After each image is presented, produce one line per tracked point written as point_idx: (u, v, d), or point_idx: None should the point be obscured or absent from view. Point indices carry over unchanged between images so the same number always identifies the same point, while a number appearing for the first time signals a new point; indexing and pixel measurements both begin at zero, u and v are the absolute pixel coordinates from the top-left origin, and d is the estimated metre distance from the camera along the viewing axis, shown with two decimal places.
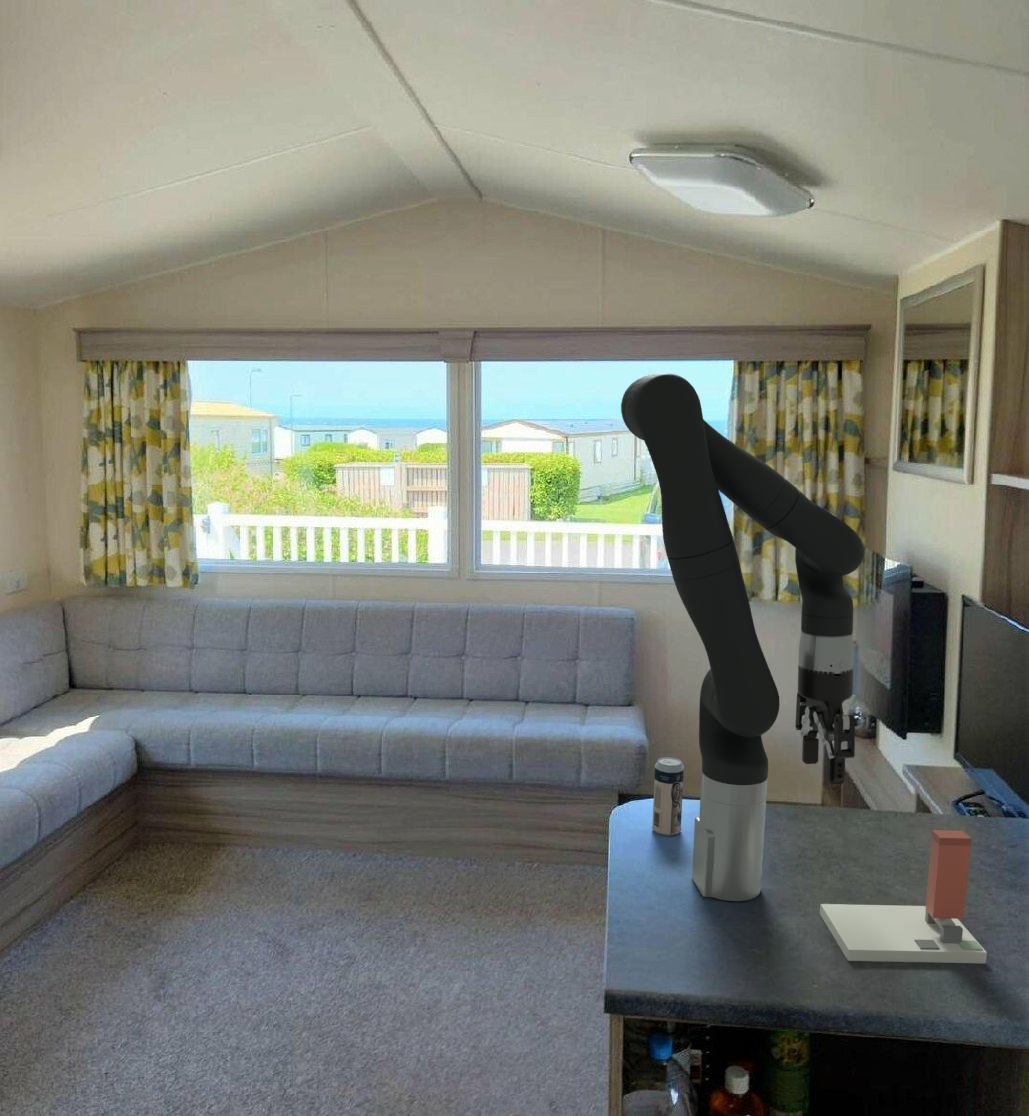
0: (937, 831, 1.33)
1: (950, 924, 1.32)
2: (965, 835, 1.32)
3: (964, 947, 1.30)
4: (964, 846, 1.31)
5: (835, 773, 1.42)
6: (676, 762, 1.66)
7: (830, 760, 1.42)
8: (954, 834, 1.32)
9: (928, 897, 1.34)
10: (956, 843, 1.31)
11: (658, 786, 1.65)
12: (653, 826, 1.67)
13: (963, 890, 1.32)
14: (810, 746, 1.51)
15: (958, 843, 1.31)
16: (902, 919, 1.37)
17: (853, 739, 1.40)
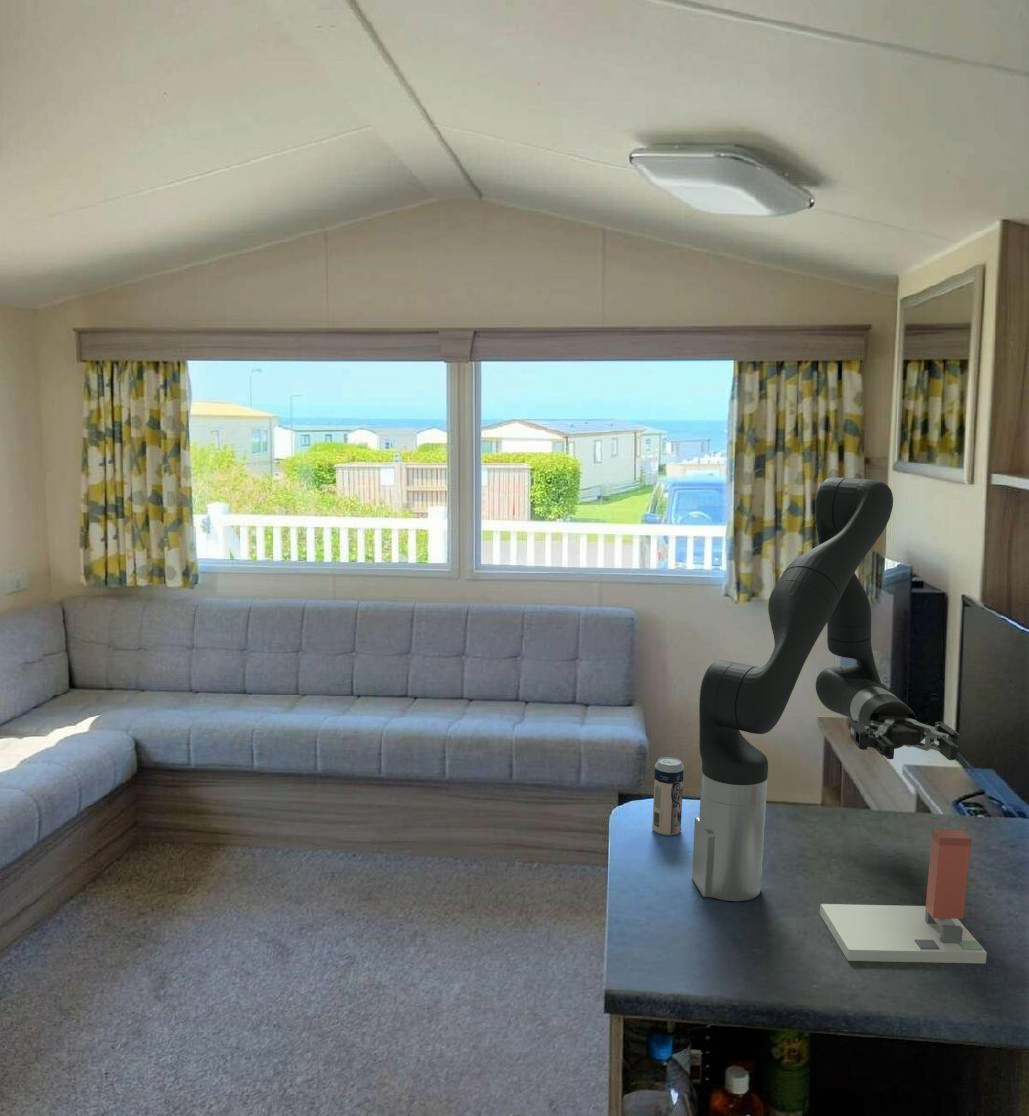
0: (937, 831, 1.33)
1: (950, 924, 1.32)
2: (965, 835, 1.32)
3: (964, 947, 1.30)
4: (964, 846, 1.31)
5: (955, 745, 1.44)
6: (676, 762, 1.66)
7: (945, 738, 1.45)
8: (954, 834, 1.32)
9: (928, 897, 1.34)
10: (956, 843, 1.31)
11: (658, 786, 1.65)
12: (653, 826, 1.67)
13: (963, 890, 1.32)
14: None
15: (958, 843, 1.31)
16: (902, 919, 1.37)
17: None
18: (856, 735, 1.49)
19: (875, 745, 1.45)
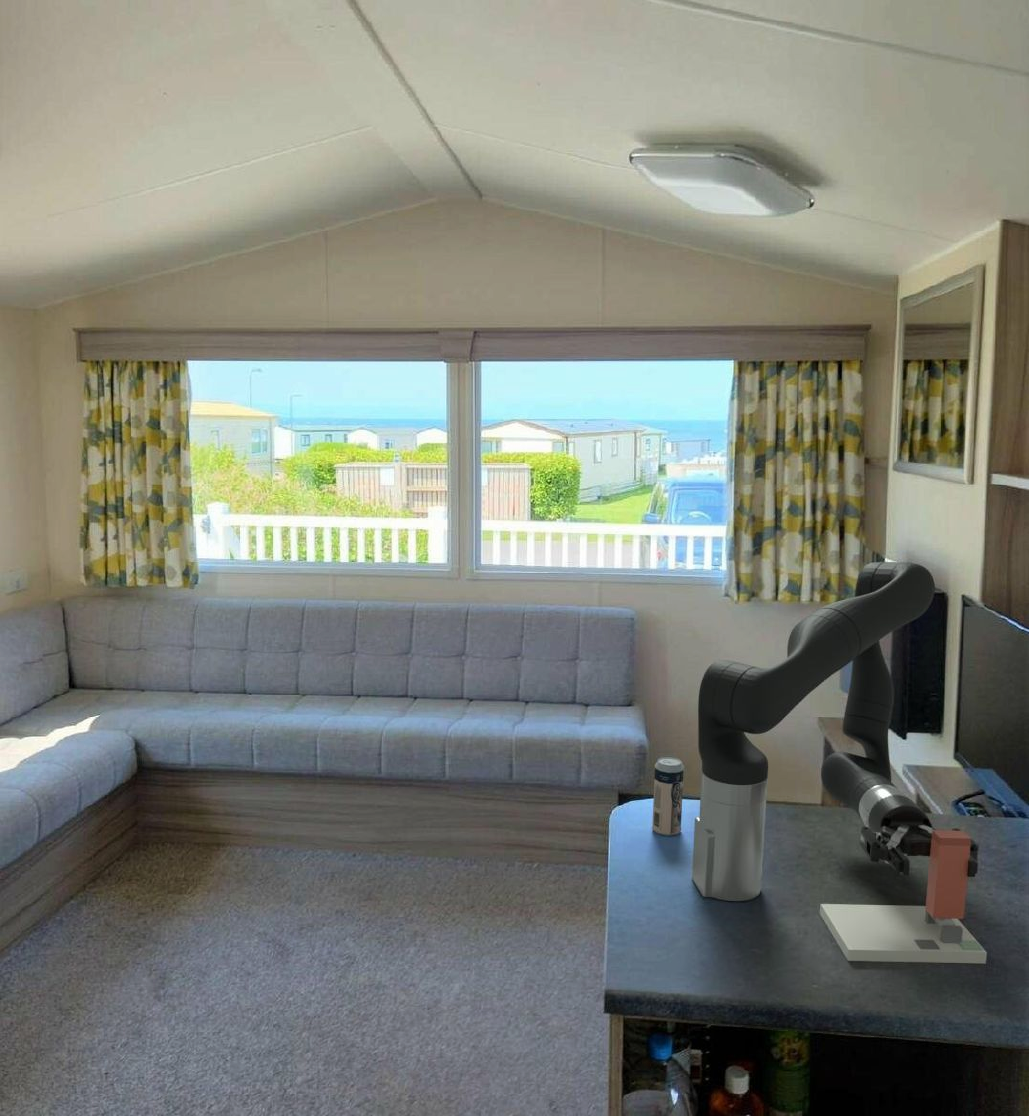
0: (937, 831, 1.33)
1: (950, 924, 1.32)
2: (965, 835, 1.32)
3: (964, 947, 1.30)
4: (964, 846, 1.31)
5: (974, 860, 1.33)
6: (676, 762, 1.66)
7: None
8: (954, 834, 1.32)
9: (928, 897, 1.34)
10: (956, 843, 1.31)
11: (658, 786, 1.65)
12: (653, 826, 1.67)
13: (963, 890, 1.32)
14: None
15: (958, 843, 1.31)
16: (902, 919, 1.37)
17: None
18: (867, 844, 1.38)
19: (888, 858, 1.34)
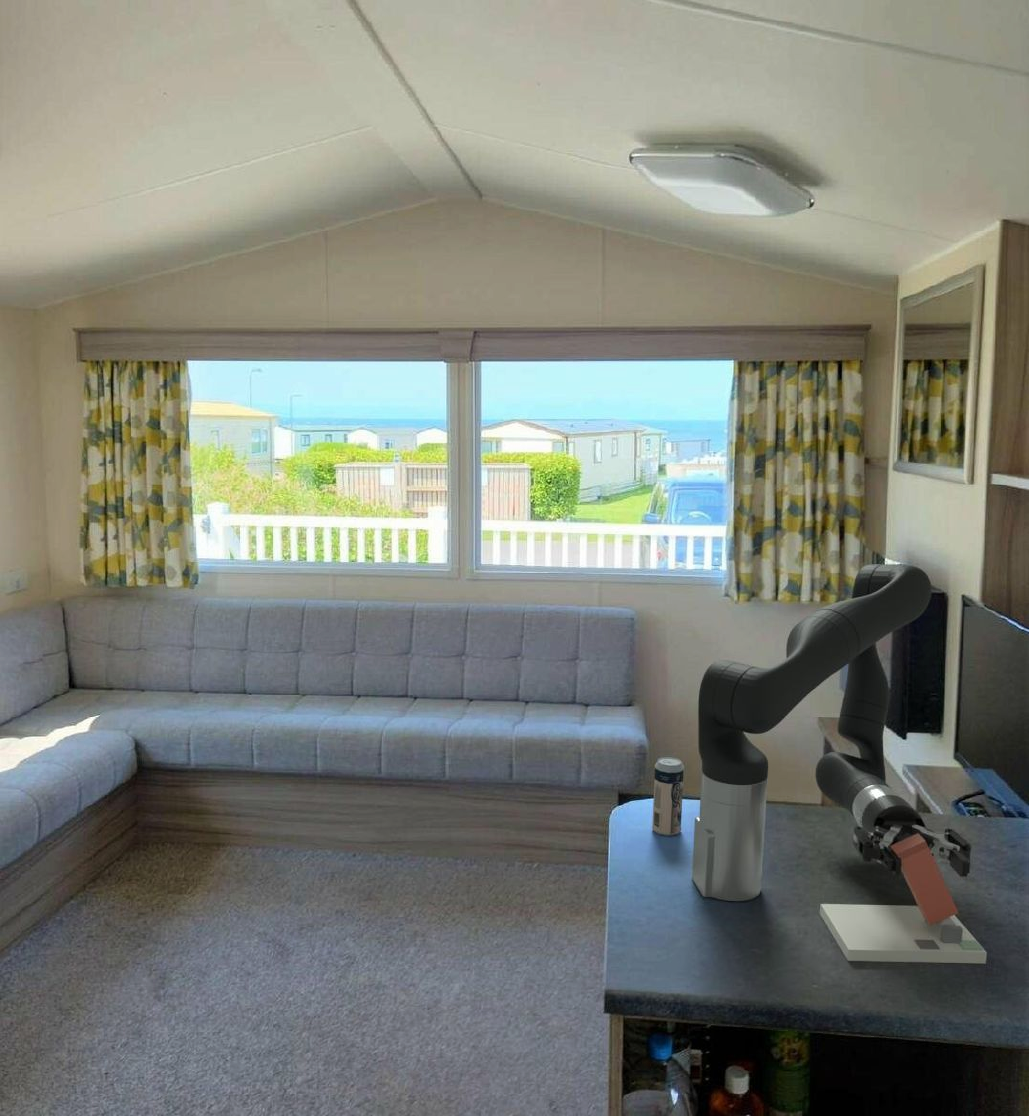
0: (895, 845, 1.33)
1: (948, 924, 1.32)
2: (920, 838, 1.32)
3: (964, 947, 1.30)
4: (923, 850, 1.31)
5: (967, 859, 1.33)
6: (676, 762, 1.66)
7: (956, 850, 1.34)
8: (910, 841, 1.32)
9: (919, 906, 1.34)
10: (914, 851, 1.31)
11: (658, 786, 1.65)
12: (653, 826, 1.67)
13: (944, 888, 1.32)
14: None
15: (916, 850, 1.31)
16: (902, 919, 1.37)
17: None
18: (860, 844, 1.38)
19: (880, 857, 1.34)
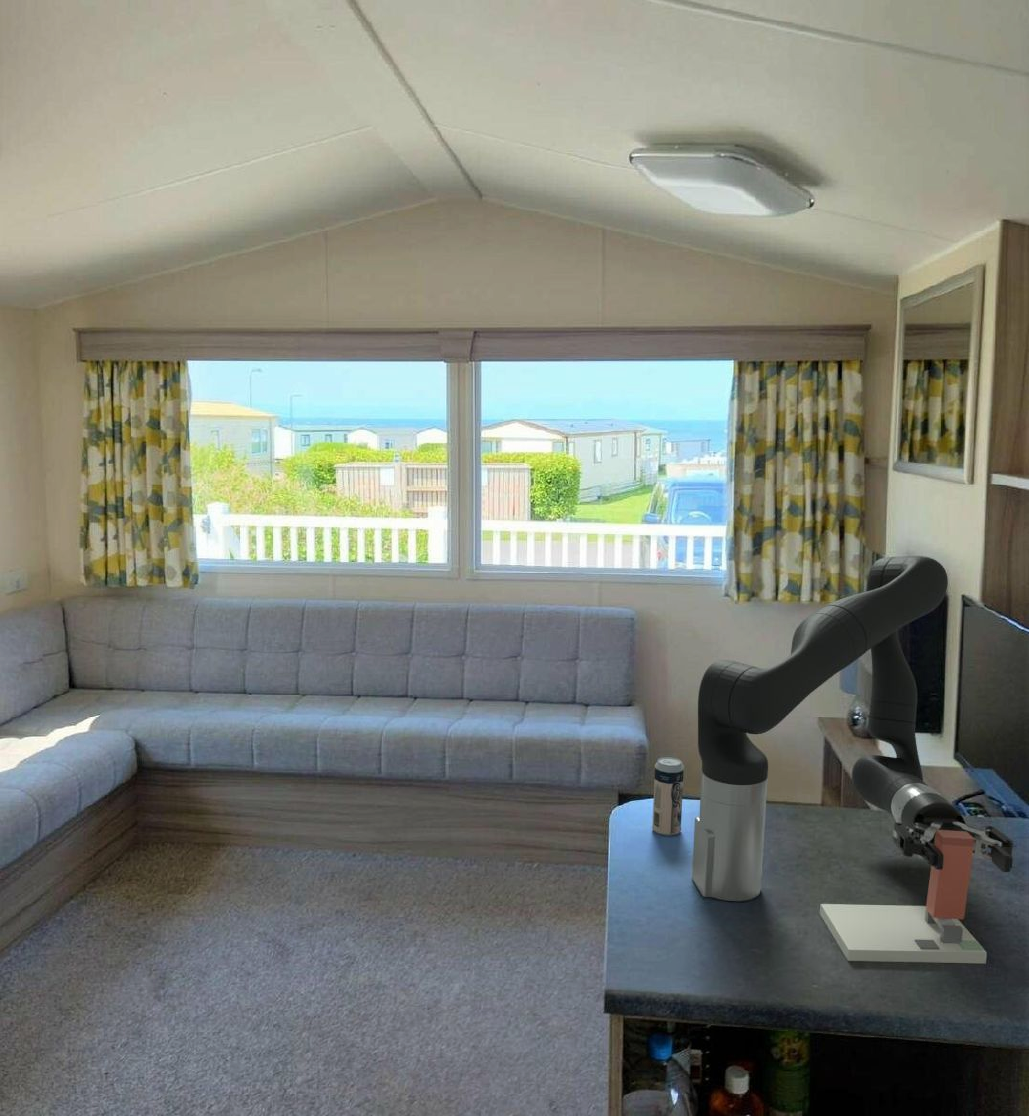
0: (941, 831, 1.33)
1: (950, 924, 1.32)
2: (968, 836, 1.32)
3: (964, 947, 1.30)
4: (967, 847, 1.31)
5: (1009, 855, 1.32)
6: (676, 762, 1.66)
7: (998, 846, 1.34)
8: (958, 834, 1.32)
9: (929, 896, 1.34)
10: (959, 843, 1.31)
11: (658, 786, 1.65)
12: (653, 826, 1.67)
13: (964, 891, 1.32)
14: None
15: (961, 843, 1.31)
16: (902, 919, 1.37)
17: None
18: (900, 840, 1.38)
19: (922, 852, 1.34)
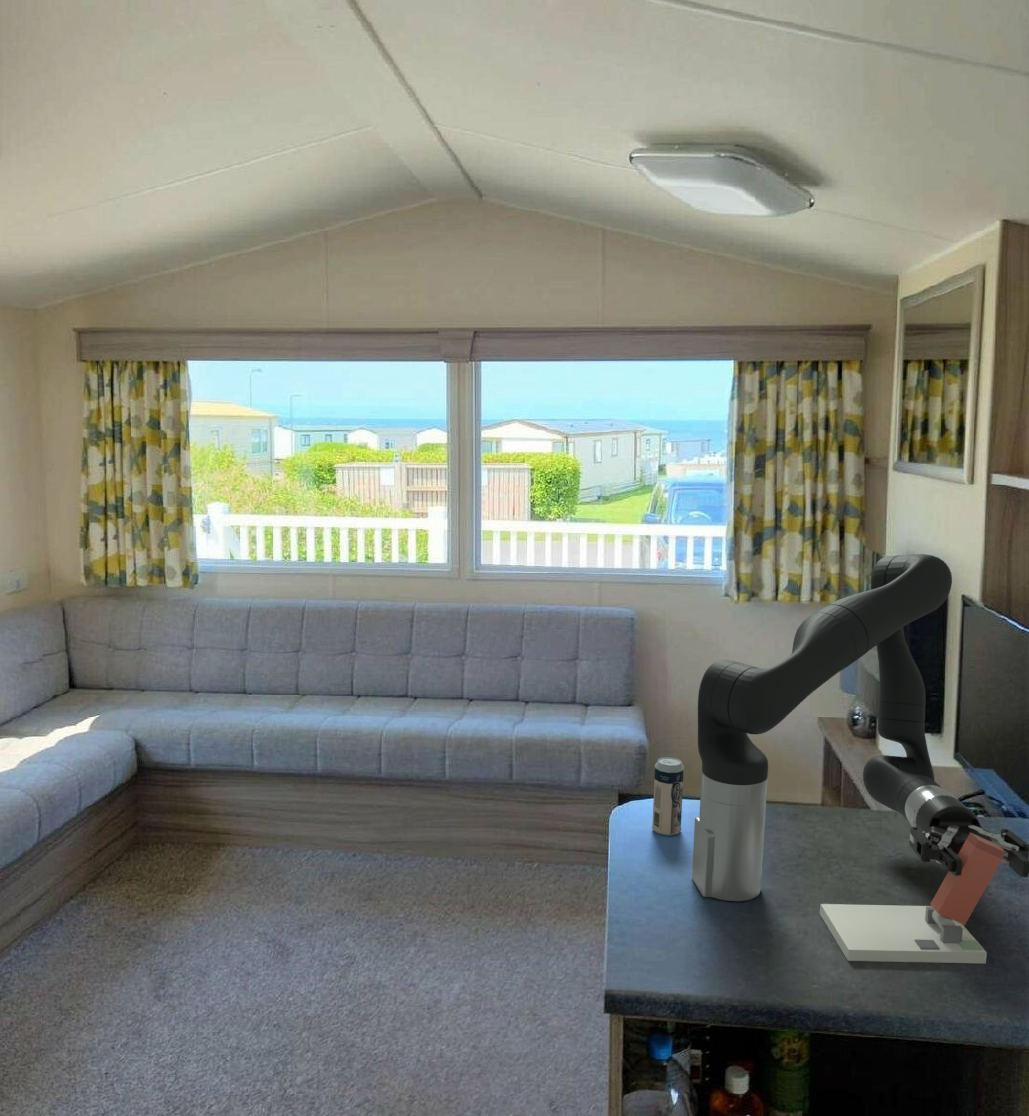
0: (975, 835, 1.33)
1: (951, 925, 1.32)
2: (1000, 848, 1.32)
3: (964, 947, 1.30)
4: (996, 857, 1.31)
5: (1027, 860, 1.32)
6: (676, 762, 1.66)
7: (1015, 851, 1.34)
8: (990, 843, 1.32)
9: (939, 893, 1.34)
10: (990, 851, 1.31)
11: (658, 786, 1.65)
12: (653, 826, 1.67)
13: (976, 898, 1.32)
14: None
15: (992, 852, 1.31)
16: (902, 919, 1.37)
17: None
18: (917, 845, 1.38)
19: (939, 858, 1.34)
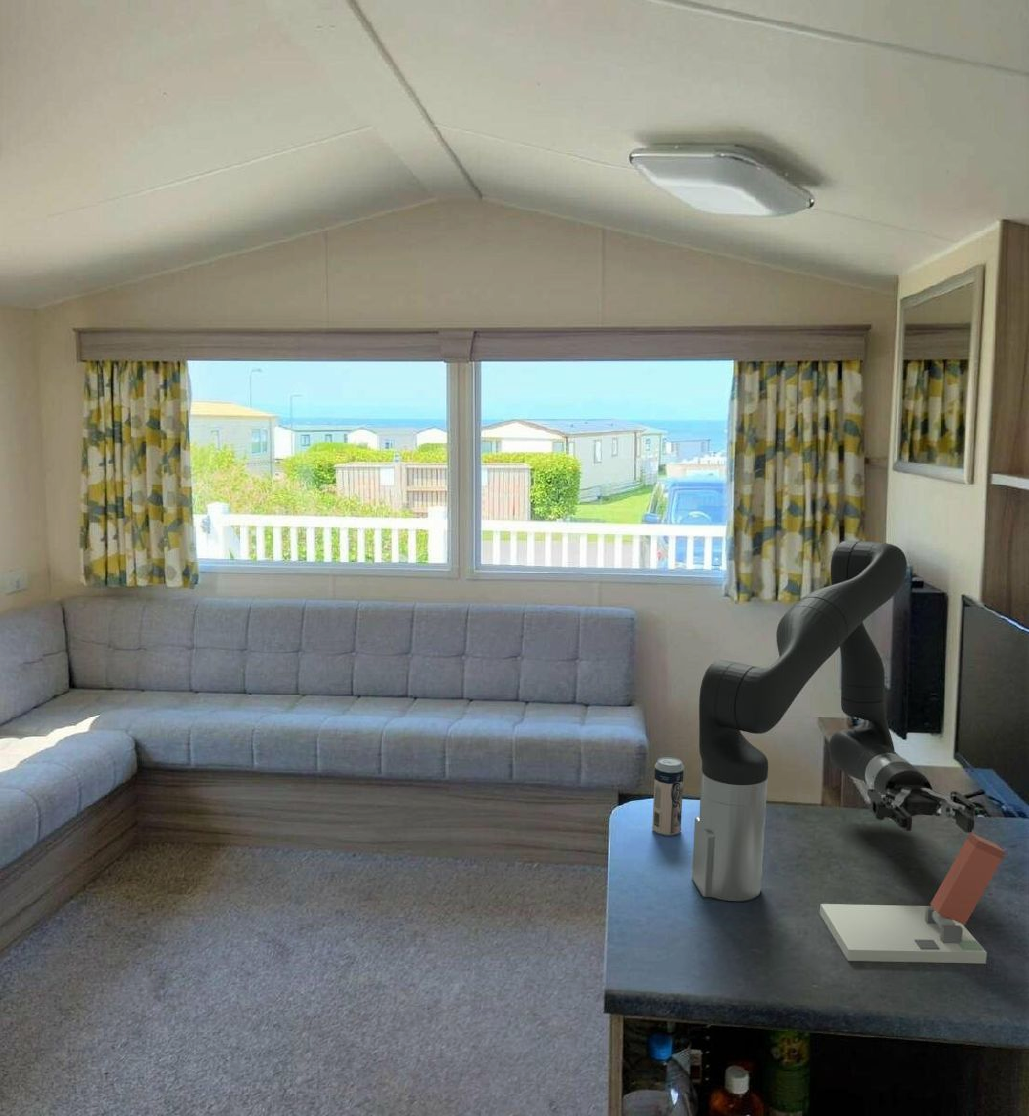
0: (975, 835, 1.33)
1: (951, 925, 1.32)
2: (1000, 848, 1.32)
3: (964, 947, 1.30)
4: (996, 857, 1.31)
5: (971, 817, 1.45)
6: (676, 762, 1.66)
7: (961, 809, 1.47)
8: (990, 843, 1.32)
9: (939, 893, 1.34)
10: (990, 851, 1.31)
11: (658, 786, 1.65)
12: (653, 826, 1.67)
13: (976, 898, 1.32)
14: None
15: (992, 852, 1.31)
16: (902, 919, 1.37)
17: None
18: (873, 804, 1.50)
19: (892, 816, 1.47)
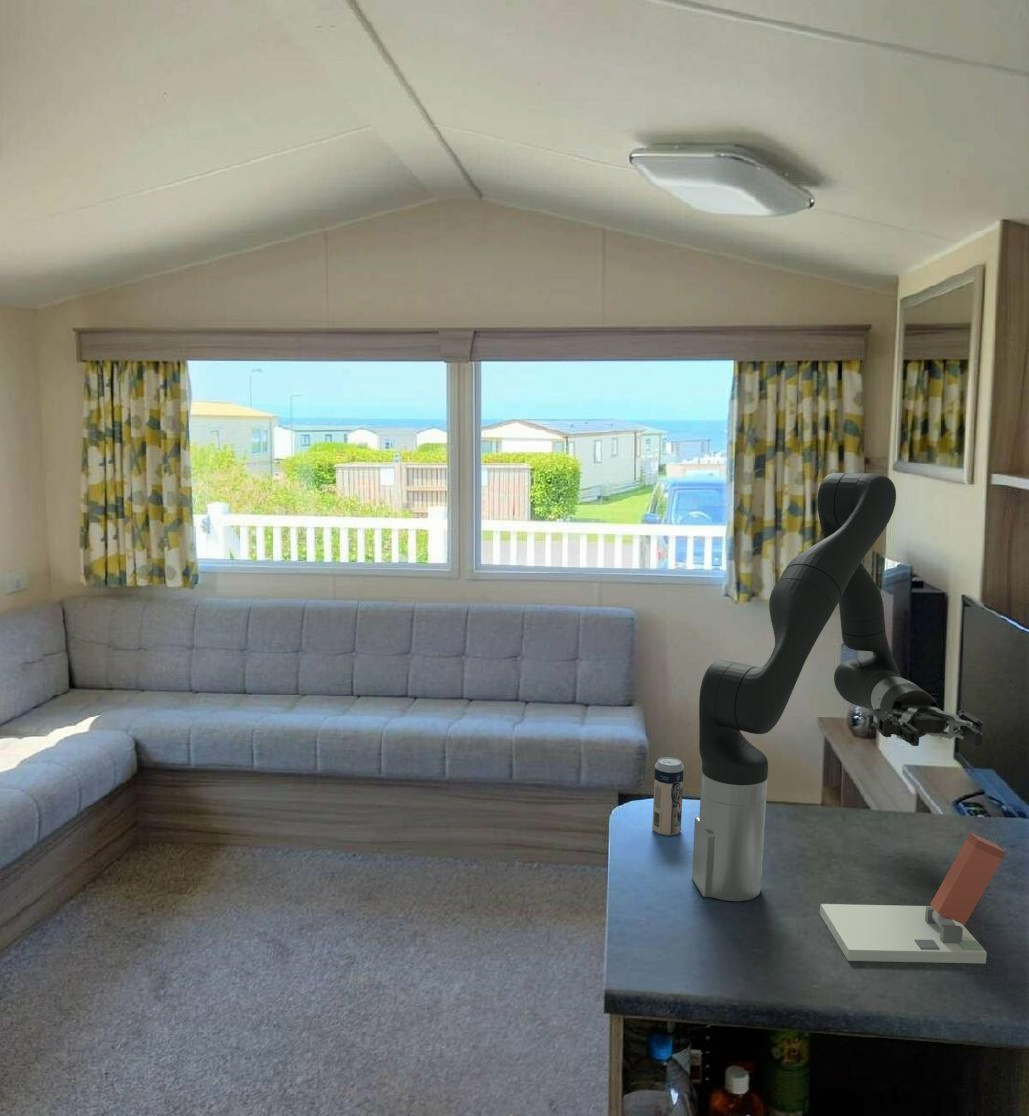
0: (975, 835, 1.33)
1: (951, 925, 1.32)
2: (1000, 848, 1.32)
3: (964, 947, 1.30)
4: (996, 857, 1.31)
5: (979, 732, 1.44)
6: (676, 762, 1.66)
7: (969, 725, 1.45)
8: (990, 843, 1.32)
9: (939, 893, 1.34)
10: (990, 851, 1.31)
11: (658, 786, 1.65)
12: (653, 826, 1.67)
13: (976, 898, 1.32)
14: None
15: (992, 852, 1.31)
16: (902, 919, 1.37)
17: None
18: (880, 723, 1.49)
19: (899, 732, 1.45)
